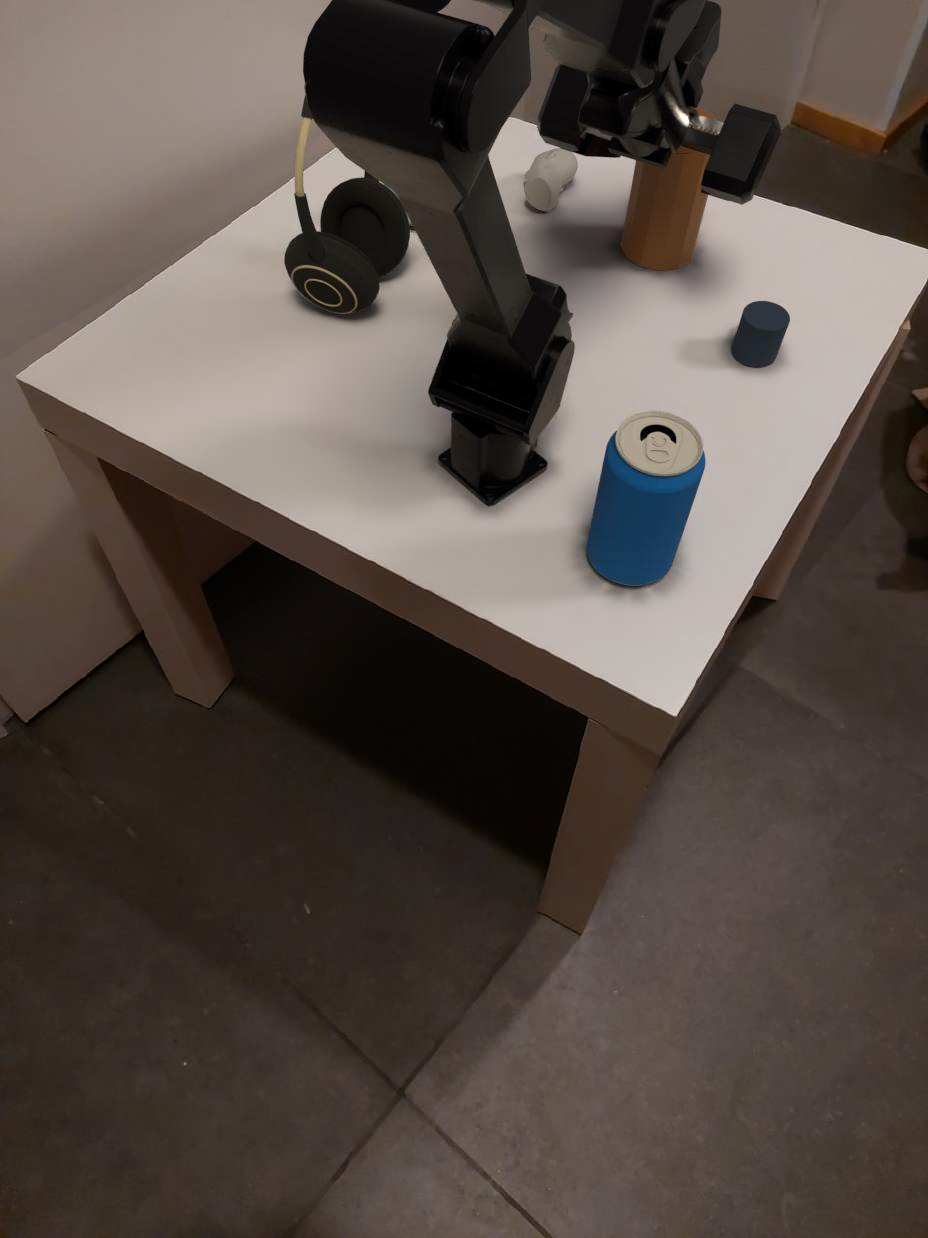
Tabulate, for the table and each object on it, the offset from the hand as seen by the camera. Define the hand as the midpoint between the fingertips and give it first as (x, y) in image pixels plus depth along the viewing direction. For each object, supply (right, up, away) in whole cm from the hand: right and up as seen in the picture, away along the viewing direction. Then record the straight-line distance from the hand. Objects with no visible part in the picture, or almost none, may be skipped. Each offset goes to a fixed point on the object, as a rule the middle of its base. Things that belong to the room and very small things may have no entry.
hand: (668, 165), depth 80 cm
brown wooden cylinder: (+1, -4, +9) cm, 10 cm away
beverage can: (-6, -36, -12) cm, 38 cm away
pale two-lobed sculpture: (-10, +4, +14) cm, 18 cm away
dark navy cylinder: (+8, -16, +1) cm, 18 cm away
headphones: (-29, -10, +5) cm, 31 cm away
